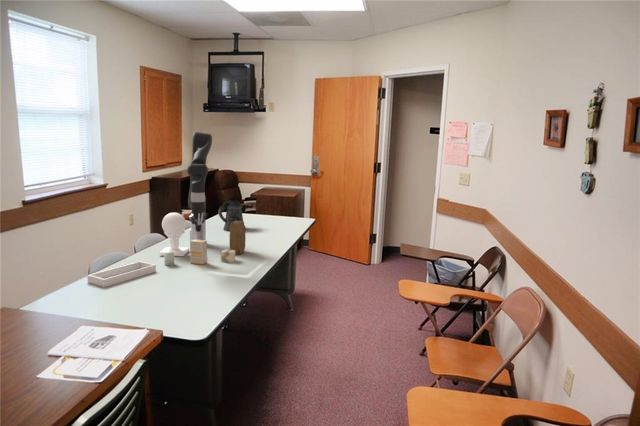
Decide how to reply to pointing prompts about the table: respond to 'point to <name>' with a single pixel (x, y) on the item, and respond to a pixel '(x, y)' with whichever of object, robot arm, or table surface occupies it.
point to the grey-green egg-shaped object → (169, 258)
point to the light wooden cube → (227, 255)
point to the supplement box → (198, 251)
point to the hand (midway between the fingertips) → (198, 231)
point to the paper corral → (99, 276)
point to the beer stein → (231, 213)
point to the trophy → (174, 233)
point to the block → (237, 237)
